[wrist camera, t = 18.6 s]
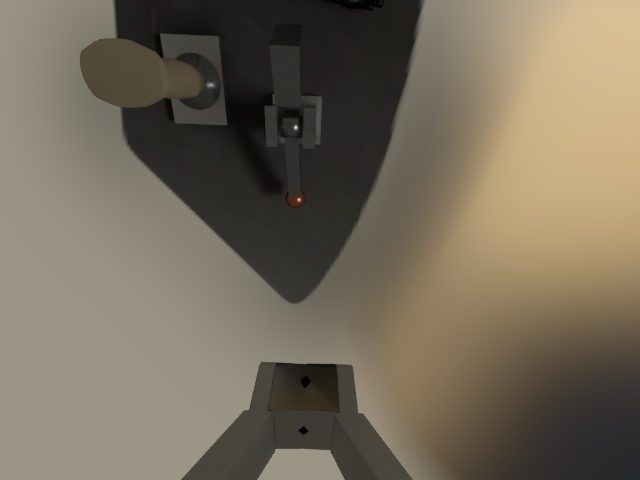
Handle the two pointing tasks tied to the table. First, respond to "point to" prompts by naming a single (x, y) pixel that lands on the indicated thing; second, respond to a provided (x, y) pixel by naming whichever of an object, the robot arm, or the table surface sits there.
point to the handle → (136, 74)
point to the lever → (289, 100)
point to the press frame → (214, 99)
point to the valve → (361, 3)
